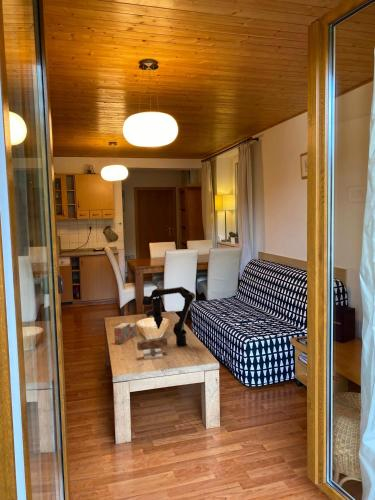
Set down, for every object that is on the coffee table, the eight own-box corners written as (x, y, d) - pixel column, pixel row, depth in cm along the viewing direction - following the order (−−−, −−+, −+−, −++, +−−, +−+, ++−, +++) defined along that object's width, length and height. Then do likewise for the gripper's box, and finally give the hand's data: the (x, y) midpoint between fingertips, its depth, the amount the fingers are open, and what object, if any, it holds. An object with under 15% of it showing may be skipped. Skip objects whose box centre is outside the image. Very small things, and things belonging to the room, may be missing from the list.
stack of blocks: (130, 334, 310) (129, 319, 308) (136, 335, 307) (136, 320, 306) (114, 343, 290) (114, 327, 289) (122, 344, 288) (121, 328, 286)
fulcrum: (160, 350, 273) (160, 342, 273) (162, 358, 260) (162, 349, 259) (143, 351, 271) (142, 344, 271) (144, 359, 258) (144, 351, 257)
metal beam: (165, 343, 271) (164, 336, 271) (167, 345, 268) (167, 338, 267) (137, 348, 262) (137, 341, 262) (139, 350, 259) (139, 343, 258)
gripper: (144, 303, 294) (145, 324, 295) (146, 310, 275) (147, 331, 277) (159, 302, 296) (160, 322, 297) (162, 308, 277) (163, 330, 279)
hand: (157, 326), depth 288 cm, fingers open, 9 cm apart
